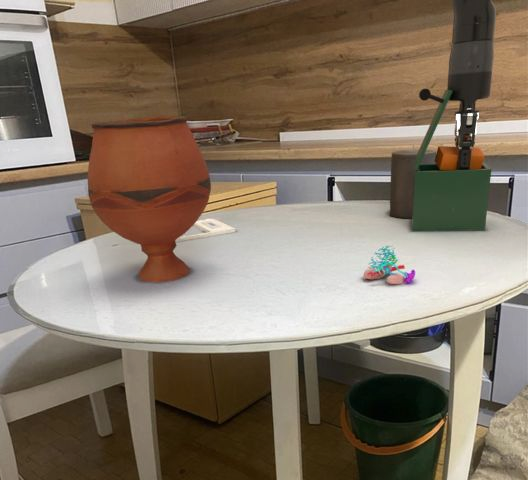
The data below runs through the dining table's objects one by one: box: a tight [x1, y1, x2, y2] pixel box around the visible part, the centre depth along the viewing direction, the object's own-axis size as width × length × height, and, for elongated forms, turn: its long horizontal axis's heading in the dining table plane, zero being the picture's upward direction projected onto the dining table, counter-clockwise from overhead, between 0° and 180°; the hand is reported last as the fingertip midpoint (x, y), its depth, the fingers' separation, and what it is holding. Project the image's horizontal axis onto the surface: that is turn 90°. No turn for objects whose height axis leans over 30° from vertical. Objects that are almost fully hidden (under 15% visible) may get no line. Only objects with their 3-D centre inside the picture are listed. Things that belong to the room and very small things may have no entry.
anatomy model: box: [362, 245, 416, 285], centre depth 80 cm, size 5×8×7 cm
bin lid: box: [414, 88, 453, 170], centre depth 103 cm, size 14×12×5 cm
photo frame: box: [175, 218, 236, 243], centre depth 120 cm, size 15×1×18 cm
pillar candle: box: [388, 145, 437, 219], centre depth 120 cm, size 10×10×15 cm
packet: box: [435, 145, 486, 170], centre depth 103 cm, size 4×8×3 cm, turn 90°
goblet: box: [87, 115, 212, 283], centre depth 86 cm, size 19×19×25 cm
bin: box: [411, 161, 492, 233], centre depth 108 cm, size 14×12×12 cm
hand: (462, 168), depth 104 cm, fingers closed on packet, 5 cm apart
